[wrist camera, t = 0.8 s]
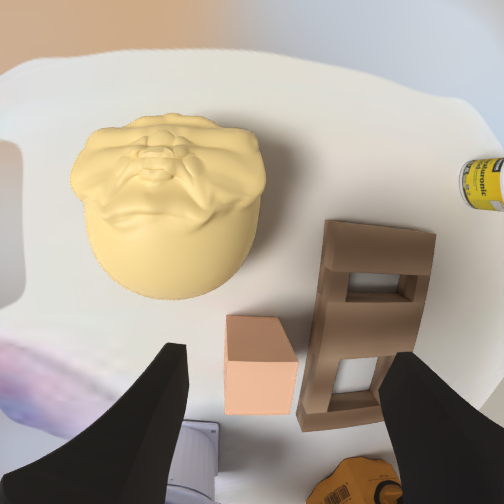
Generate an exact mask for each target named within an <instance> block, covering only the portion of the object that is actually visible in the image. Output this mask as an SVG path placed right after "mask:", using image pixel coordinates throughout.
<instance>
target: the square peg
mask: <svg viewBox="0 0 504 504" xmlns="http://www.w3.org/2000/svg"><path fill="white" fill-rule="evenodd" d="M298 364H299V361H298V359H297V357H296V355H295V353H294V350H293V348H292V346H291V344H290V342H289V340H288V338H287V336H286V334H285V331H284V329H283V327H282V325H281V323H280V321H279V319H278V317H255V316H233V315H226V329H225V347H224V392H225V415H287V414H290V409H291V403H292V398H293V393H294V387H295V382H296V376H297V370H298Z"/></svg>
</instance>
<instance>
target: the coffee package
mask: <svg viewBox="0 0 504 504" xmlns="http://www.w3.org/2000/svg"><path fill="white" fill-rule="evenodd" d="M306 504H403V494H402V485H401V482H400V480H399V478H398V476H397V474H396V473H395V471H394V469H393V467H392V465H390V464H388V463H387V462H385V461H384V460H381V459H379V460H372V459H365V458H364V457H356V458H347V459H345V460H343V461H342V462H341V463H340V464H339V466H338V467H337V468H336V470H335V472H334V473H333V474H332V475H331V476H330V477H328V478H327V479H325V480H323V481H321V482H320V483H319V484H317V486H316V487H315V489H314V491H313V493H312V494H311V496H310V497H309V498H308V499H307V500H306Z"/></svg>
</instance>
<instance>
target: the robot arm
mask: <svg viewBox="0 0 504 504" xmlns="http://www.w3.org/2000/svg"><path fill="white" fill-rule="evenodd" d="M188 391H189V376H188V364H187V350H186V345H184V344H176V343H166V344H165V345H164V346H163V348H162V349H161V350H160V352H159V353H158V354H157V356H156V357H155V358H154V360H153V361H152V362H151V364H150V365H149V366H148V367H147V368H146V370H145V371H144V372H143V373H142V374H141V376H140V377H139V378H138V379H137V380H136V381H135V382H134V384H133V385H132V386H131V387H130V388H129V389H128V390H127V391H126V392H125V393H124V394H123V396H122V397H121V398H120V399H119V400H118V401H117V402H116V403H115V404H114V405H113V406H112V407H111V408H110V409H109V410H107V411H106V412H105V413H104V414H103V415H102V416H101V417H100V418H99V419H97V420H96V421H95V422H94V423H93V424H91V425H90V426H89V427H88V428H86V429H85V430H84V431H82V432H81V433H80V434H78V435H77V436H76V437H74V438H73V439H72V440H70V441H69V442H67V443H66V444H64V445H63V446H61V447H60V448H58V449H56V450H54V451H53V452H51V453H49V454H47V455H46V456H44V457H42V458H40V459H39V460H37V461H35V462H33V463H30V464H28V465H26V466H24V467H21V468H19V469H17V470H14V471H12V472H9V473H7V474H4V476H3V477H2V479H1V481H0V504H221V503H218V502H215V476H217V475H218V434H219V426H218V424H216V423H205V422H191V421H183V418H184V415H185V410H186V404H187V398H188ZM378 393H379V399H380V404H381V409H382V414H383V418H384V421H385V424H386V427H387V430H388V433H389V437H390V440H391V443H392V446H393V449H394V453H395V456H396V459H397V463H398V467H399V472H400V478H401V485H402V494H403V504H504V428H503V427H501V426H500V425H498V424H496V423H495V422H493V421H492V420H490V419H489V418H487V417H486V416H484V415H483V414H482V413H480V412H479V411H478V410H476V409H475V408H474V407H473V406H471V405H470V404H469V403H468V402H467V401H465V400H464V399H463V398H462V397H461V396H460V395H458V394H457V393H456V392H455V391H454V390H453V389H452V388H451V387H450V386H449V385H447V384H446V383H445V382H444V381H443V380H442V379H441V378H440V377H439V376H438V375H437V374H436V373H435V372H434V371H433V370H431V369H430V368H429V367H428V366H427V365H426V364H425V363H424V362H423V361H422V360H421V359H419V358H418V357H417V356H416V355H415V354H414V353H412V352H411V351H410V352H397V354H396V356H395V358H394V360H393V362H392V364H391V366H390V368H389V370H388V372H387V374H386V376H385V378H384V380H383V382H382V383H381V385H380V387H379V389H378ZM212 430H215V431H212Z"/></svg>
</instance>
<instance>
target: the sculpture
mask: <svg viewBox="0 0 504 504" xmlns="http://www.w3.org/2000/svg"><path fill="white" fill-rule="evenodd" d="M70 185H71V188H72V190H73V191H74V193H75V195H76V196H77V197H78V198H79V199H80V200H81V201H82V202H83V203H84V213H85V224H86V231H87V236H88V240H89V243H90V246H91V249H92V251H93V253H94V255H95V257H96V259H97V261H98V263H99V264H100V266H101V267H102V268H103V270H104V271H105V272H106V273H107V274H108V275H109V276H110V277H111V278H112V279H113V280H114V281H115V282H117V283H118V284H119V285H121V286H123V287H124V288H126V289H128V290H130V291H132V292H134V293H136V294H139V295H142V296H145V297H149V298H154V299H161V300H181V299H188V298H193V297H197V296H200V295H203V294H206V293H208V292H210V291H213V290H214V289H216V288H218V287H220V286H221V285H223V284H224V283H225V282H227V281H228V280H229V279H230V278H231V277H232V276H233V275H234V274H235V273H236V272H237V271H238V270H239V268H240V267H241V266H242V264H243V263H244V261H245V259H246V258H247V256H248V254H249V252H250V249H251V247H252V244H253V241H254V238H255V234H256V229H257V223H258V216H259V210H260V202H261V194H262V192H263V191H264V189H265V186H266V171H265V166H264V163H263V159H262V156H261V153H260V152H259V149H258V140H257V138H256V136H255V135H254V134H253V133H252V132H250V131H248V130H243V129H239V128H222V127H220V126H218V125H217V124H216V123H214V122H212V121H211V120H208V119H206V118H204V117H201V116H183V115H180V114H177V113H168V114H165V115H162V116H144V117H141V118H138V119H136V120H135V121H133V122H131V123H130V124H128V125H126V126H124V127H122V128H115V127H110V128H102V129H99V130H97V131H95V132H93V133H92V134H91V135H90V136H89V138H88V139H87V141H86V144H85V147H84V149H83V150H82V151H81V152H80V153H79V155H78V157H77V158H76V160H75V162H74V165H73V167H72V170H71V173H70Z"/></svg>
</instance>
